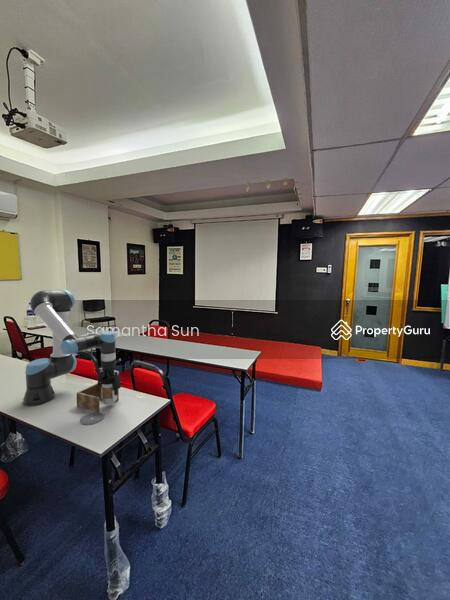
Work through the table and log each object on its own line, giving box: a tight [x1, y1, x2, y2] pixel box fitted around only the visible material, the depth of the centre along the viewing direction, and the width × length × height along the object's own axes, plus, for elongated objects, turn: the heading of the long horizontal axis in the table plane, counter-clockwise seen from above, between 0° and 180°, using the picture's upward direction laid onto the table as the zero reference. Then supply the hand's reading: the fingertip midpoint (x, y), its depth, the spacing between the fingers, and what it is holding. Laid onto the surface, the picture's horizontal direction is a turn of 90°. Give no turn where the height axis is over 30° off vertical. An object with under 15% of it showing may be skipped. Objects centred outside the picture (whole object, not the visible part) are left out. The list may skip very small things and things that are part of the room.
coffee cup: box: [101, 375, 116, 406], centre depth 146 cm, size 8×8×15 cm
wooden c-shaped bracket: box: [76, 382, 120, 413], centre depth 150 cm, size 16×15×8 cm
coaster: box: [79, 411, 105, 426], centre depth 134 cm, size 11×11×1 cm
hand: (109, 398), depth 147 cm, fingers closed on coffee cup, 7 cm apart
